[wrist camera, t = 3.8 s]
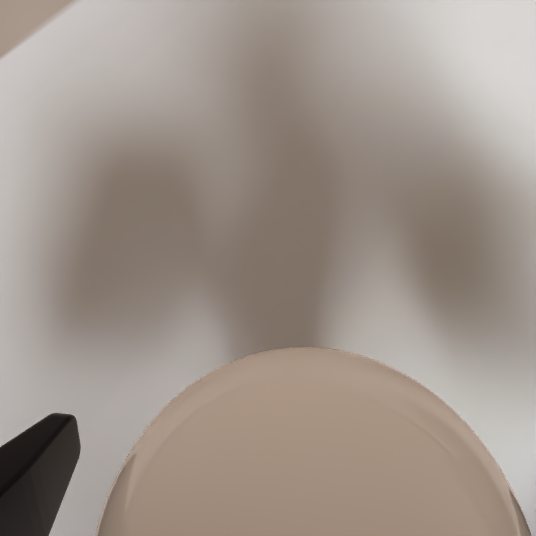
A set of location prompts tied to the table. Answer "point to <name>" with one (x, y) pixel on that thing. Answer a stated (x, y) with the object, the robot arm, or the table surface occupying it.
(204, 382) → the lightbulb
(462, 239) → the table surface
